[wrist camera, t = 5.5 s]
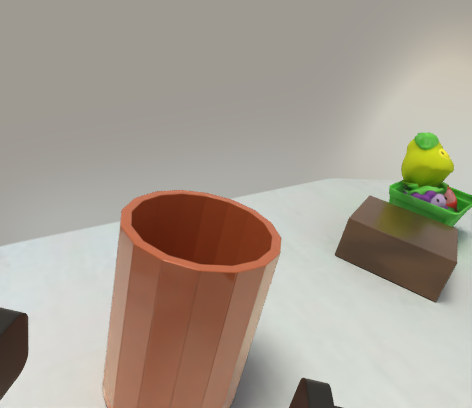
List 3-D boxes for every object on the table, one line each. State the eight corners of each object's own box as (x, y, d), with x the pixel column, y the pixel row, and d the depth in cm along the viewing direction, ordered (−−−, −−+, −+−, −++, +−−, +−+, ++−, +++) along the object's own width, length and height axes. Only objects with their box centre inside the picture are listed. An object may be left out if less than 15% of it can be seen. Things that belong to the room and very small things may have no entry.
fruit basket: (437, 257, 39) (489, 157, 35) (362, 219, 44) (399, 128, 40) (461, 234, 47) (505, 151, 43) (395, 204, 52) (429, 127, 48)
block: (334, 255, 34) (349, 217, 33) (356, 226, 42) (369, 195, 40) (435, 302, 31) (457, 262, 29) (440, 262, 38) (458, 228, 37)
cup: (72, 385, 17) (83, 213, 13) (164, 316, 22) (190, 180, 19) (179, 479, 14) (227, 298, 11) (254, 376, 20) (304, 232, 16)
